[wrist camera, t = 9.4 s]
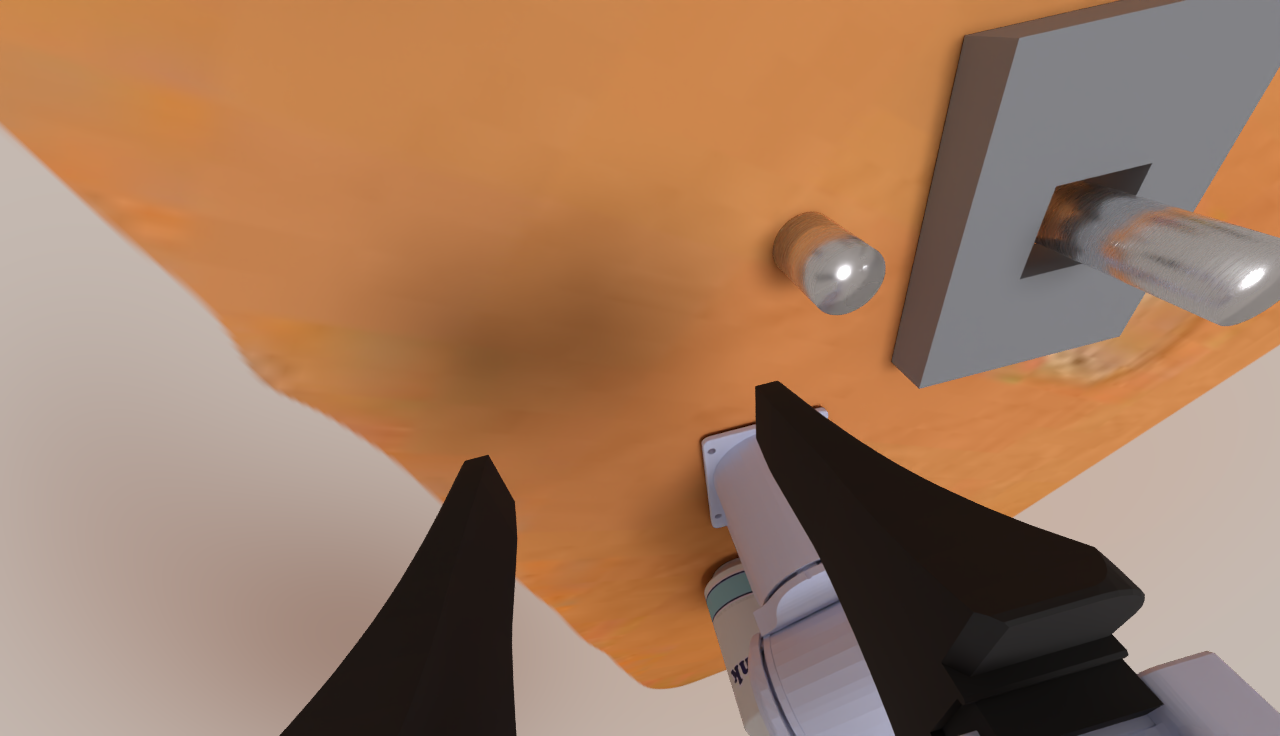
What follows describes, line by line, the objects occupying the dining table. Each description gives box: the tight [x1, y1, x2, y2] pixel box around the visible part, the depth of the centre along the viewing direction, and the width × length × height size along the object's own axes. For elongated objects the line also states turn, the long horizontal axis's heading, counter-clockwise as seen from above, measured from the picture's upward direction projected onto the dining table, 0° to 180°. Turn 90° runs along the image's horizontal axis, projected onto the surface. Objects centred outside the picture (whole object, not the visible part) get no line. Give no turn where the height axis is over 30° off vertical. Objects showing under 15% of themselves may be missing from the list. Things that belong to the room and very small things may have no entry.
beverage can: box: [704, 558, 770, 736], centre depth 35 cm, size 7×7×12 cm
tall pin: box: [1035, 180, 1280, 326], centre depth 19 cm, size 3×3×9 cm
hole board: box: [892, 0, 1280, 389], centre depth 22 cm, size 16×12×2 cm
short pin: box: [773, 212, 885, 315], centre depth 20 cm, size 3×3×4 cm
